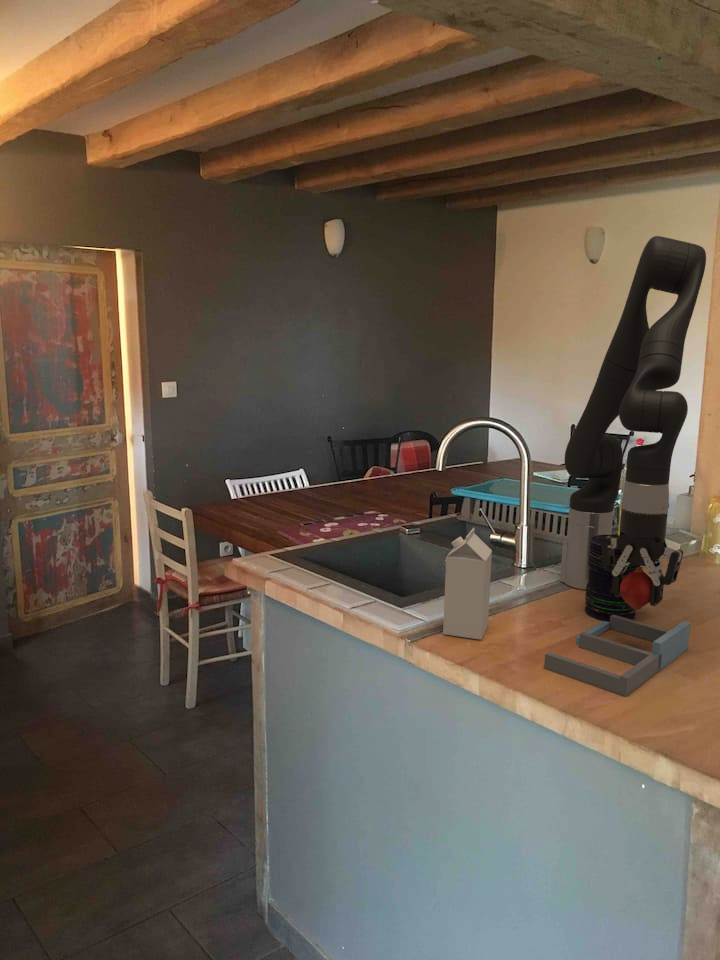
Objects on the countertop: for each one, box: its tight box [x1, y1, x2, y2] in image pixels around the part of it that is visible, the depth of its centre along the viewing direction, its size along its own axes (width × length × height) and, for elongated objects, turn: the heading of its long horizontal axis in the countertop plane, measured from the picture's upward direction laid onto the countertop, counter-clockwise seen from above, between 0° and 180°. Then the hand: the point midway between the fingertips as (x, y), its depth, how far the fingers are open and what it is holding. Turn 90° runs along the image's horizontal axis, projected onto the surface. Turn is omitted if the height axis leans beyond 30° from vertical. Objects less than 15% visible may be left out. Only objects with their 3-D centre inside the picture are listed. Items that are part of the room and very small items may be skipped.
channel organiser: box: [543, 615, 691, 697], centre depth 132 cm, size 15×25×5 cm, turn 137°
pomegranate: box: [620, 566, 653, 611], centre depth 135 cm, size 6×6×8 cm
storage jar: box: [584, 534, 642, 623], centre depth 152 cm, size 10×10×15 cm
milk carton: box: [442, 527, 493, 640], centre depth 141 cm, size 7×7×19 cm
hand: (636, 599), depth 135 cm, fingers closed on pomegranate, 6 cm apart
